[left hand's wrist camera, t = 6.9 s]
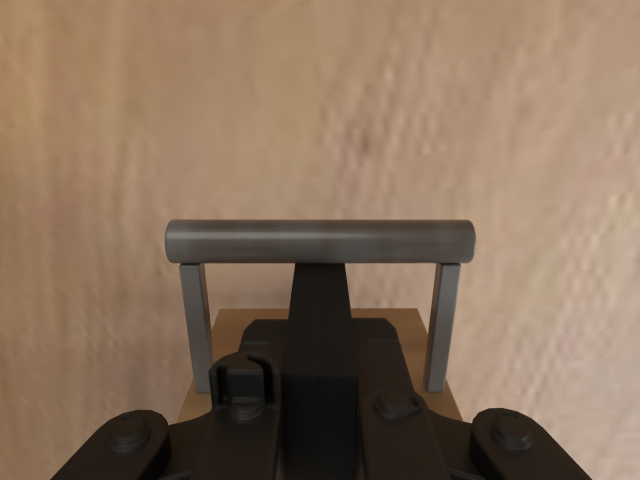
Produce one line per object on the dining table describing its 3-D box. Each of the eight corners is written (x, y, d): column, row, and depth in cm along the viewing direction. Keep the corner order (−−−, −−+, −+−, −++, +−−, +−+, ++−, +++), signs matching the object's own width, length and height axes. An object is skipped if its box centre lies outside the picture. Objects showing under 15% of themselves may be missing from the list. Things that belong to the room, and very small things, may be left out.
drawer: (207, 176, 17) (137, 251, 10) (431, 176, 17) (504, 252, 10) (242, 543, 25) (216, 716, 19) (393, 542, 25) (421, 714, 19)
